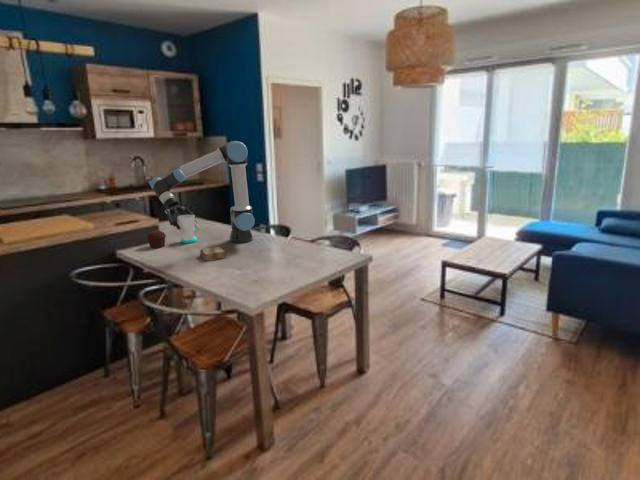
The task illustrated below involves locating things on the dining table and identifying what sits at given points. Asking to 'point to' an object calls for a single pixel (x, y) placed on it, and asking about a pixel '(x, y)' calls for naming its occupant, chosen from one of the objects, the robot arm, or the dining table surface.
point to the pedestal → (212, 253)
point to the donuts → (189, 240)
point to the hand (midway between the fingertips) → (191, 231)
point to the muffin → (156, 239)
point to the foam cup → (187, 226)
